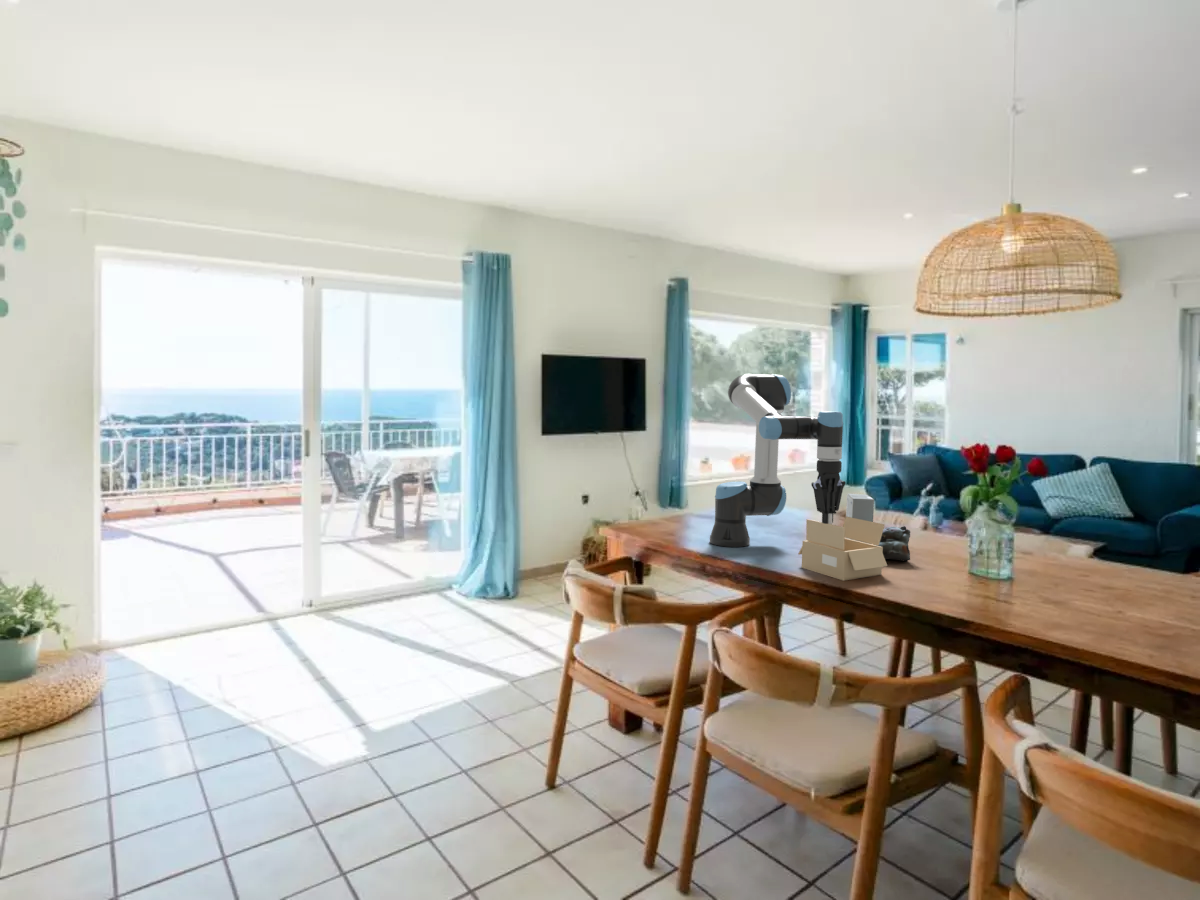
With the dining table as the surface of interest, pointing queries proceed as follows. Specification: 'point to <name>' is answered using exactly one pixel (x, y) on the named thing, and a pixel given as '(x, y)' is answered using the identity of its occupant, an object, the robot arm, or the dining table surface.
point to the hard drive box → (860, 507)
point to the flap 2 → (863, 530)
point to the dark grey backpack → (895, 543)
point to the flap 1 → (825, 534)
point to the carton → (843, 559)
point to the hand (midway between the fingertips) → (827, 533)
